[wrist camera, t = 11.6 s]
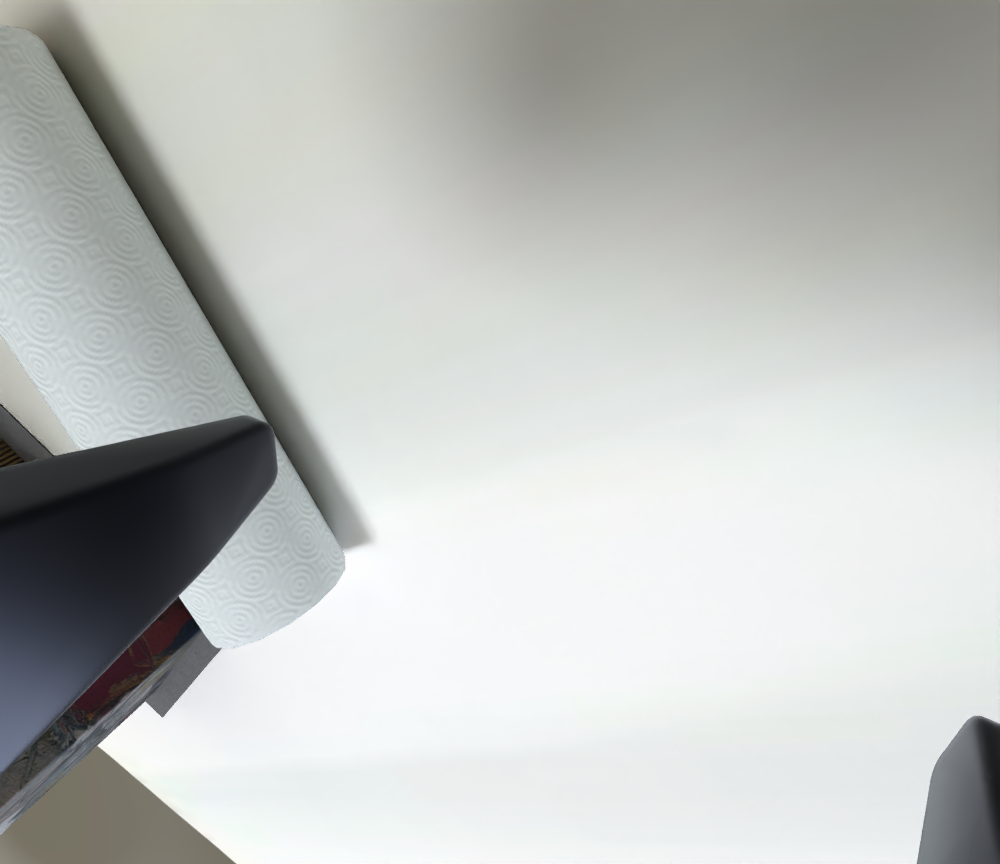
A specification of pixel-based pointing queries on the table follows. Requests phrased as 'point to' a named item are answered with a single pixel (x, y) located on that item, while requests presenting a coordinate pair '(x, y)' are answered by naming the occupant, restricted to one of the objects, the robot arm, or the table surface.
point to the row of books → (100, 678)
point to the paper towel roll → (132, 339)
